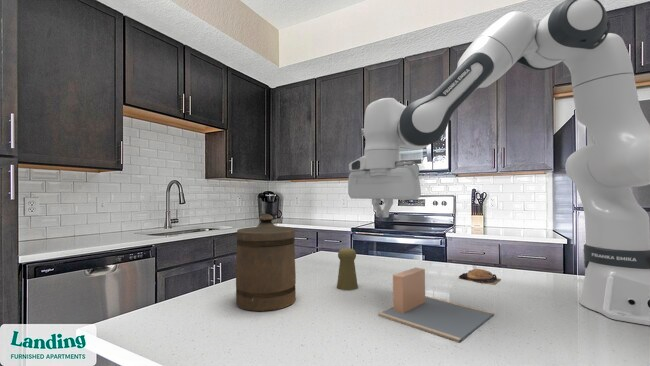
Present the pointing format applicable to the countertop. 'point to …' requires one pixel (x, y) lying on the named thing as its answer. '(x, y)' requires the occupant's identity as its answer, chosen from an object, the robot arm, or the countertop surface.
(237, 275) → the wooden container
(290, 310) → the countertop surface
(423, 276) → the tile
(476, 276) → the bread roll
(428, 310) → the mat
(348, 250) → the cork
